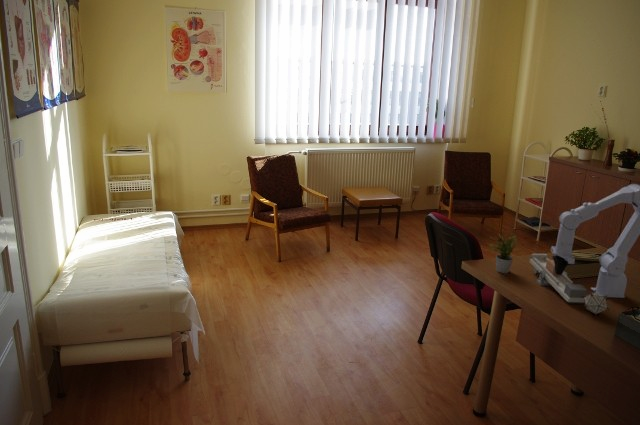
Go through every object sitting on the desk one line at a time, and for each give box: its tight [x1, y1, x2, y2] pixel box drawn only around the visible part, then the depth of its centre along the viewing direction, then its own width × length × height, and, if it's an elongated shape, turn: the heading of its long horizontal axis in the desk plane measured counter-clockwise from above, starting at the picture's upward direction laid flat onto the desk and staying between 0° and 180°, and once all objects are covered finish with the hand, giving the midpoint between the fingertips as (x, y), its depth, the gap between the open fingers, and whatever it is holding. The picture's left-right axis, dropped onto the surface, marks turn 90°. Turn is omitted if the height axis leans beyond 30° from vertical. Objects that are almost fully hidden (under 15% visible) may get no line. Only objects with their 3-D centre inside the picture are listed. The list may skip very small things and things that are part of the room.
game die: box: [582, 290, 611, 317], centre depth 178 cm, size 9×8×10 cm
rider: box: [545, 259, 560, 277], centre depth 201 cm, size 6×3×5 cm, turn 3°
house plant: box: [488, 233, 521, 274], centre depth 213 cm, size 14×14×16 cm
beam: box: [529, 253, 588, 304], centre depth 199 cm, size 33×8×5 cm, turn 2°
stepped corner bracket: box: [533, 267, 583, 306], centre depth 199 cm, size 31×11×5 cm, turn 2°
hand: (558, 274), depth 197 cm, fingers closed
